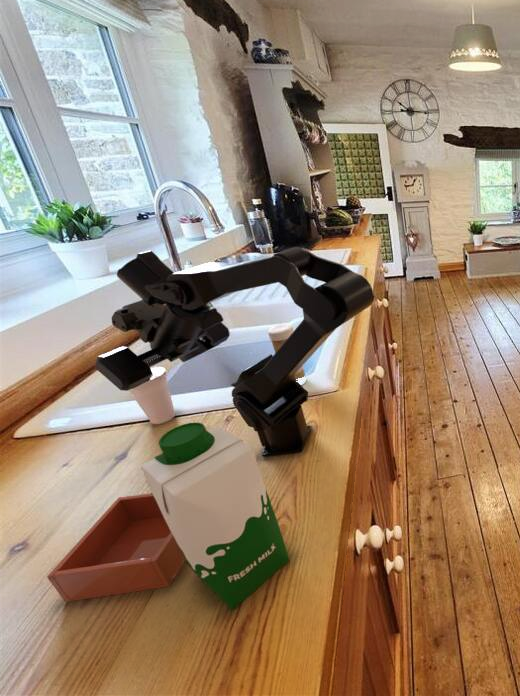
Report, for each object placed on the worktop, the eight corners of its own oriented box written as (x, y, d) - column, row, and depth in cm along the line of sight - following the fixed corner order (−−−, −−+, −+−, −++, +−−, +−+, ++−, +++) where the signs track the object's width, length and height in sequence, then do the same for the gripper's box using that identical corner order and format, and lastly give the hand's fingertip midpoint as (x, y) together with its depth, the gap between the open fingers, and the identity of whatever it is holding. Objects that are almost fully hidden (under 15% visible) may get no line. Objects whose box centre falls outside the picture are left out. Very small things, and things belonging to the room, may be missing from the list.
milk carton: (262, 527, 56) (215, 405, 48) (301, 558, 51) (257, 430, 43) (189, 582, 49) (121, 451, 41) (228, 624, 45) (160, 486, 37)
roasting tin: (217, 509, 59) (206, 485, 57) (169, 586, 49) (155, 560, 47) (131, 520, 58) (118, 497, 56) (65, 602, 47) (46, 576, 46)
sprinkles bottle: (303, 375, 92) (289, 321, 87) (309, 383, 89) (294, 328, 84) (281, 383, 90) (265, 327, 84) (287, 392, 86) (270, 334, 81)
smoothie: (138, 432, 75) (105, 367, 70) (147, 414, 81) (117, 351, 75) (180, 421, 78) (152, 357, 72) (186, 404, 83) (160, 343, 78)
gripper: (197, 270, 74) (173, 320, 81) (73, 309, 58) (57, 367, 65) (244, 313, 75) (216, 359, 83) (136, 364, 59) (113, 415, 66)
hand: (157, 372), depth 74 cm, fingers open, 9 cm apart
